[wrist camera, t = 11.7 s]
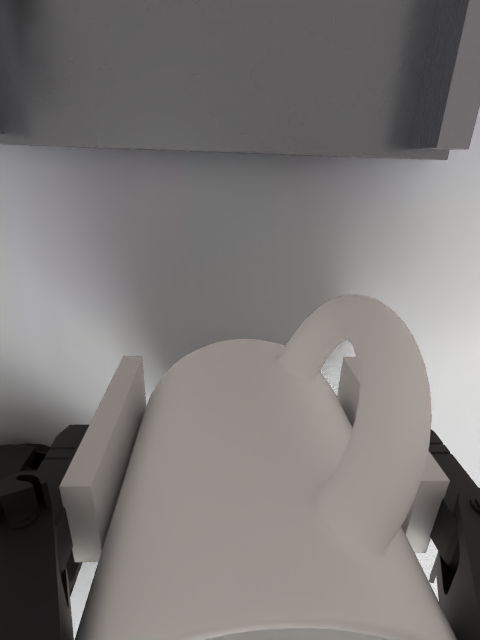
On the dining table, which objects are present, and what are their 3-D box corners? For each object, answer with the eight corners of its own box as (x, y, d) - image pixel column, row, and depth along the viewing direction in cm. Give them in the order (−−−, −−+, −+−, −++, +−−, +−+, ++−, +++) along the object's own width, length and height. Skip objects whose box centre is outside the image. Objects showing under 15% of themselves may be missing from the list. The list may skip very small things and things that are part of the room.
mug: (234, 208, 13) (268, 330, 4) (421, 301, 15) (770, 546, 5) (121, 453, 17) (-2, 814, 8) (279, 504, 19) (338, 850, 9)
